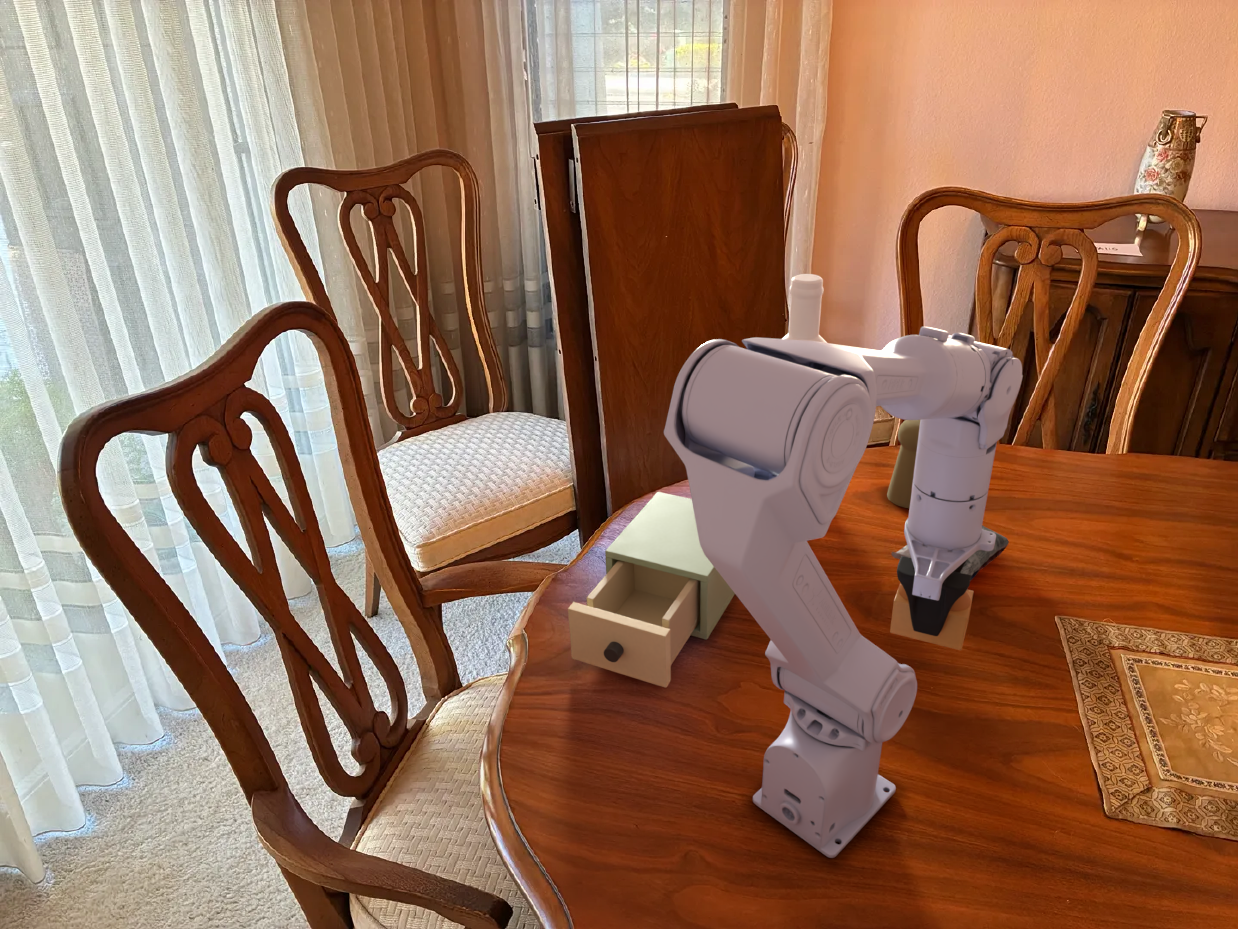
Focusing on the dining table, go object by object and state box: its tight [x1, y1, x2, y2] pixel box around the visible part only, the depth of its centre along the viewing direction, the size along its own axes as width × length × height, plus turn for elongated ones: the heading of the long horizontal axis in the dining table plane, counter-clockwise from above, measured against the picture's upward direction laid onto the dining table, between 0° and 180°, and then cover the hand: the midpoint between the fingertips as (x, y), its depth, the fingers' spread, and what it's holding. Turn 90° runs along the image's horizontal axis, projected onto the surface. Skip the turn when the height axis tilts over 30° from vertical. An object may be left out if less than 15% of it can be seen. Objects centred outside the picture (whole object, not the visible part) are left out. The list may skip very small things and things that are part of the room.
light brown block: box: [889, 582, 974, 651], centre depth 75 cm, size 6×4×5 cm, turn 63°
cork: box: [886, 420, 920, 509], centre depth 111 cm, size 6×6×11 cm
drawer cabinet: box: [604, 491, 736, 640], centre depth 95 cm, size 14×12×8 cm
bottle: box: [781, 273, 828, 343], centre depth 107 cm, size 8×8×30 cm
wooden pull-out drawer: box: [567, 560, 701, 689], centre depth 87 cm, size 14×10×6 cm
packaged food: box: [891, 524, 1010, 582], centre depth 98 cm, size 9×12×5 cm
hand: (930, 615), depth 75 cm, fingers closed on light brown block, 4 cm apart
